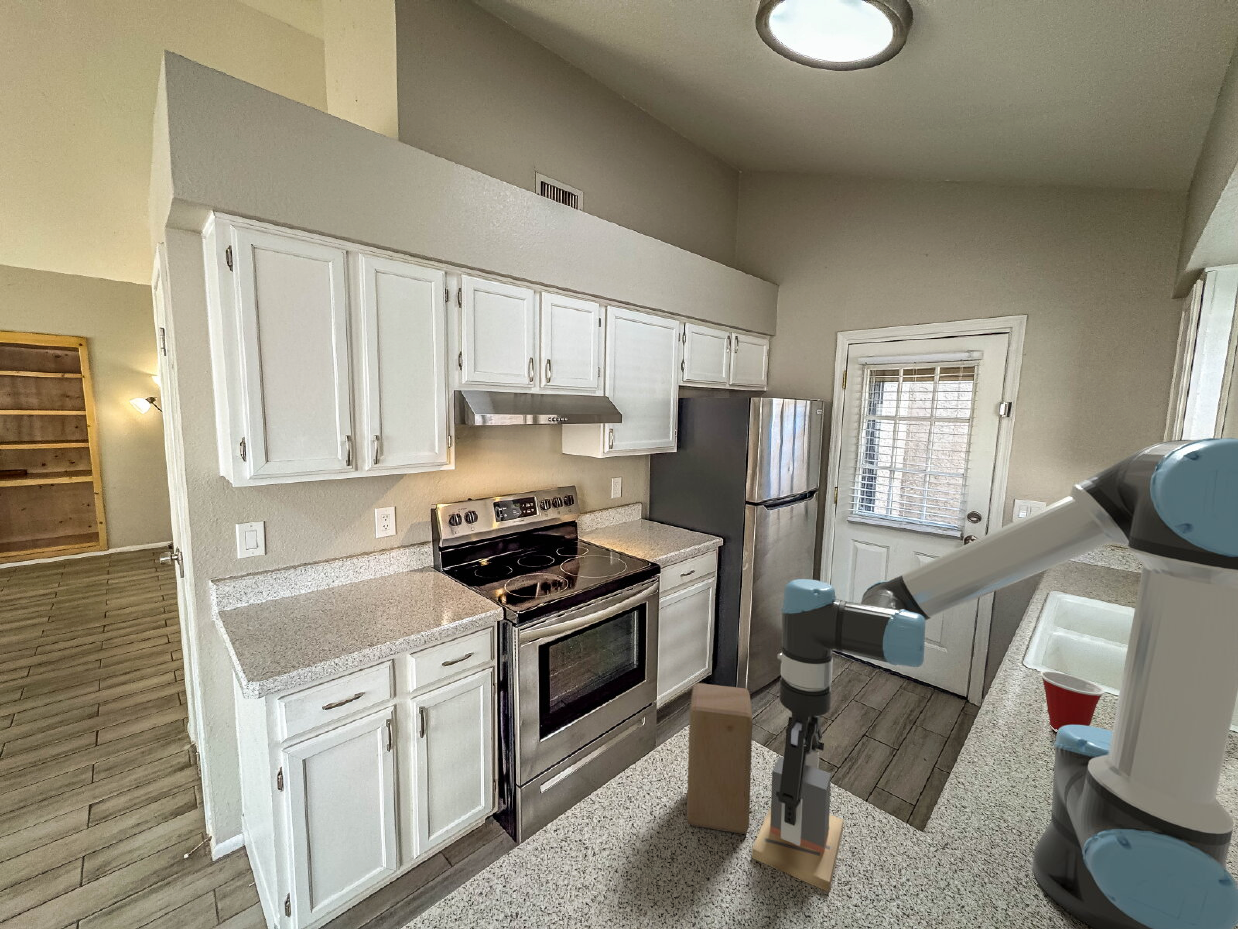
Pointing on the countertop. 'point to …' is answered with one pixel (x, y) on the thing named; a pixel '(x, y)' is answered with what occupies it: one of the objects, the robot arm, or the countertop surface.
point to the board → (799, 854)
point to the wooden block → (719, 758)
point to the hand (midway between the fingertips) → (800, 812)
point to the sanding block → (806, 806)
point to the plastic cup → (1070, 699)
